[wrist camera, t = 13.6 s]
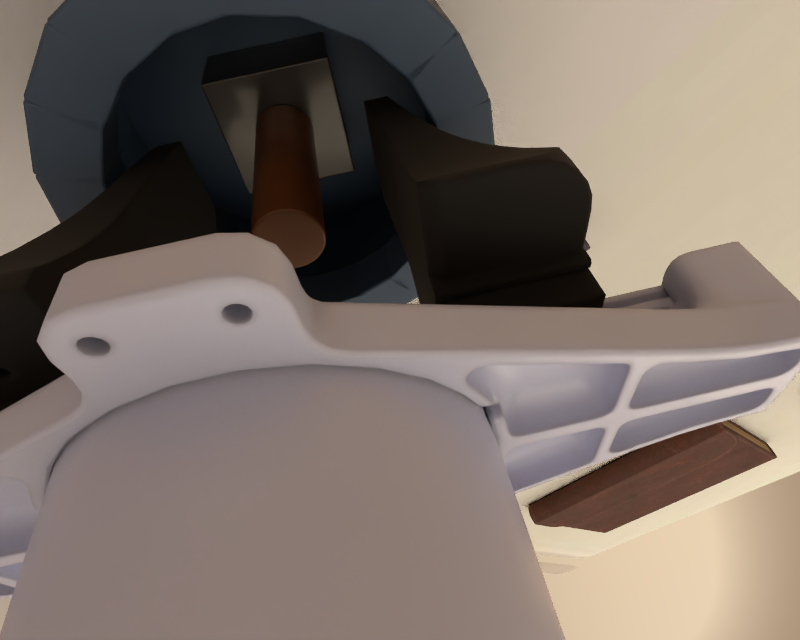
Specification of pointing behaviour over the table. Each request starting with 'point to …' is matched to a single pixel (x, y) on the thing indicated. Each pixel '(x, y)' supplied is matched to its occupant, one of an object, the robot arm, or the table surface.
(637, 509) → the notebook
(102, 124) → the jar
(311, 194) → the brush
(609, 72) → the table surface
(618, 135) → the table surface
